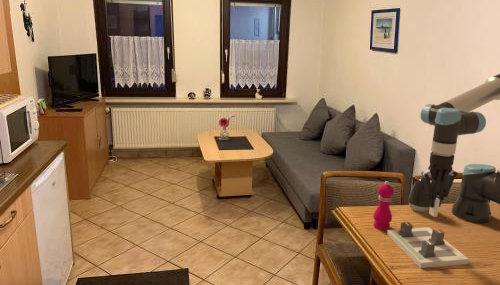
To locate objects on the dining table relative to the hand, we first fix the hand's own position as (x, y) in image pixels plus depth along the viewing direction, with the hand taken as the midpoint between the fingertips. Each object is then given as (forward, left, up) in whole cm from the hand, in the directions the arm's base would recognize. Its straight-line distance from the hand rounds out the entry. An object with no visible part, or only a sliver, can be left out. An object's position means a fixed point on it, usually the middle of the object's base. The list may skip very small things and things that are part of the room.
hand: (433, 214), depth 143 cm
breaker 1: (+5, -7, -11) cm, 14 cm away
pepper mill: (+9, -18, -14) cm, 24 cm away
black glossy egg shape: (-16, -31, -14) cm, 37 cm away
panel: (+1, 0, -14) cm, 14 cm away
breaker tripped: (-3, 0, -11) cm, 12 cm away
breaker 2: (+5, +7, -11) cm, 14 cm away
